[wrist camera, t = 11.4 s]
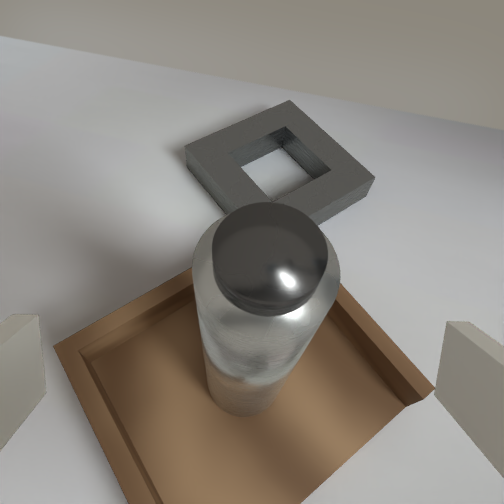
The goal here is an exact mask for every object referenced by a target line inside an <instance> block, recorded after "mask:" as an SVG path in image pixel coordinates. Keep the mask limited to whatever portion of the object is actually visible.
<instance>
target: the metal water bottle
mask: <svg viewBox="0 0 504 504" xmlns="http://www.w3.org/2000/svg"><path fill="white" fill-rule="evenodd" d="M192 276H193V284H194V291H195V298H196V305H197V312H198V319H199V326H200V333H201V340H202V347H203V354H204V361H205V368H206V375H207V382H208V388H209V392H210V394H211V397H212V398H213V400H214V402H215V403H216V404H217V405H218V406H219V407H220V408H221V409H222V410H223V411H225V412H227V413H229V414H231V415H234V416H238V417H250V416H254V415H257V414H259V413H261V412H263V411H264V410H266V409H267V408H268V407H269V406H270V405H271V404H272V403H273V401H274V400H275V398H276V397H277V395H278V393H279V392H280V390H281V388H282V387H283V385H284V384H285V382H286V380H287V379H288V377H289V375H290V374H291V372H292V370H293V369H294V367H295V365H296V364H297V362H298V361H299V359H300V357H301V356H302V354H303V352H304V351H305V349H306V347H307V346H308V344H309V342H310V341H311V339H312V338H313V336H314V334H315V333H316V331H317V329H318V328H319V326H320V324H321V323H322V321H323V320H324V318H325V316H326V315H327V313H328V311H329V310H330V308H331V306H332V305H333V303H334V301H335V299H336V296H337V293H338V290H339V285H340V267H339V261H338V258H337V255H336V252H335V250H334V248H333V246H332V245H331V243H330V241H329V240H328V238H327V237H326V236H325V235H324V234H323V232H322V231H321V230H320V229H319V227H318V226H317V225H316V224H315V222H314V221H313V220H312V219H310V218H309V217H308V216H307V215H305V214H304V213H303V212H301V211H299V210H297V209H295V208H293V207H291V206H288V205H284V204H280V203H273V202H259V203H253V204H249V205H246V206H243V207H240V208H238V209H236V210H235V211H233V212H231V213H230V214H228V215H225V216H224V217H222V218H221V219H219V220H217V221H216V222H215V223H214V224H212V225H211V226H210V227H209V228H208V229H207V230H206V232H205V233H204V234H203V236H202V237H201V239H200V240H199V242H198V244H197V246H196V249H195V252H194V256H193V261H192Z"/></svg>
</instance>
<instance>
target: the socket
mask: <svg viewBox="0 0 504 504" xmlns="http://www.w3.org/2000/svg"><path fill="white" fill-rule="evenodd" d="M280 147H282V148H283V149H284V150H285V151H286V152H287V153H288V154H289V155H290V156H291V157H292V158H294V159H295V160H296V161H297V162H298V163H299V164H300V165H301V166H302V167H303V168H304V169H305V170H306V171H307V172H308V173H309V174H310V175H311V176H312V177H313V178H314V180H313V181H311V182H309V183H307V184H305V185H303V186H302V187H300V188H298V189H296V190H294V191H292V192H291V193H289V194H287V195H285V196H283V197H281V198H280V199H278V200H276V201H274V202H273V203H280V204H284V205H288V206H291V207H293V208H295V209H297V210H299V211H301V212H303V213H304V214H305V215H307V216H308V217H309V218H310V219H312V220H313V221H314V222H315V224H316V225H317V226H318V225H319V224H321V223H323V222H324V221H326V220H328V219H329V218H331V217H333V216H334V215H336V214H338V213H339V212H341V211H343V210H344V209H346V208H347V207H349V206H351V205H352V204H354V203H356V202H357V201H359V200H361V199H362V198H364V197H366V195H367V193H368V191H369V189H370V187H371V185H372V183H373V181H374V179H375V177H374V176H373V175H372V174H371V173H370V172H369V171H368V170H367V169H366V168H365V167H363V166H362V165H361V164H360V163H359V162H358V161H357V160H356V159H355V158H353V157H352V156H351V155H350V154H349V153H348V152H347V151H346V150H345V149H344V148H342V147H341V146H340V145H339V144H338V143H337V142H336V141H335V140H334V139H332V138H331V137H330V136H329V135H328V134H327V133H326V132H325V131H324V130H322V129H321V128H320V127H319V126H318V125H317V124H316V123H315V122H314V121H313V120H311V119H310V118H309V117H308V116H307V115H306V114H305V113H304V112H303V111H301V110H300V109H299V108H298V107H297V106H296V105H295V104H294V103H293V102H292V101H290V100H288V101H286V102H284V103H282V104H279V105H277V106H275V107H273V108H270V109H268V110H266V111H263V112H261V113H259V114H257V115H254V116H252V117H250V118H247V119H245V120H243V121H241V122H238V123H236V124H234V125H231V126H229V127H227V128H225V129H222V130H220V131H218V132H216V133H213V134H211V135H209V136H206V137H204V138H202V139H200V140H197V141H195V142H193V143H190V144H188V145H186V146H185V153H186V162H187V167H188V168H189V170H190V171H191V172H192V173H193V175H194V176H195V177H196V178H197V179H198V181H199V182H200V183H201V184H202V185H203V187H204V188H205V189H206V190H207V191H208V193H209V194H210V195H211V196H212V197H213V199H214V200H215V201H216V202H217V204H218V205H219V206H220V207H221V208H222V210H223V211H224V212H225V213H226V214H227V215H228V214H230V213H231V212H233V211H235V210H236V209H238V208H240V207H243V206H246V205H249V204H253V203H259V202H272V201H271V200H270V199H269V198H268V197H267V196H266V195H265V193H264V192H263V191H262V190H261V189H260V188H259V187H258V186H257V185H256V184H255V183H254V181H253V180H252V179H251V178H250V177H249V176H248V175H247V174H246V173H245V172H244V170H243V169H242V168H241V167H242V166H244V165H246V164H248V163H250V162H252V161H254V160H256V159H258V158H260V157H262V156H264V155H266V154H268V153H270V152H272V151H274V150H276V149H278V148H280Z"/></svg>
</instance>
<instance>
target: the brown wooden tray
mask: <svg viewBox="0 0 504 504" xmlns="http://www.w3.org/2000/svg"><path fill="white" fill-rule="evenodd" d="M53 347H54V349H55V351H56V353H57V355H58V357H59V360H60V362H61V364H62V366H63V368H64V370H65V372H66V374H67V376H68V378H69V380H70V382H71V384H72V387H73V389H74V391H75V393H76V395H77V397H78V399H79V401H80V403H81V405H82V407H83V409H84V412H85V414H86V416H87V418H88V420H89V422H90V424H91V426H92V428H93V430H94V432H95V434H96V437H97V439H98V441H99V443H100V445H101V447H102V449H103V451H104V453H105V455H106V457H107V459H108V462H109V464H110V466H111V468H112V470H113V472H114V474H115V476H116V478H117V480H118V482H119V484H120V487H121V489H122V491H123V493H124V495H125V497H126V499H127V501H128V503H129V504H300V503H301V502H302V501H304V500H305V499H306V498H307V497H308V496H309V495H310V494H311V493H312V492H313V491H314V490H316V489H317V488H318V487H319V486H320V485H321V484H322V483H323V482H324V481H325V480H326V479H328V478H329V477H330V476H331V475H332V474H333V473H334V472H335V471H336V470H337V469H338V468H340V467H341V466H342V465H343V464H344V463H345V462H346V461H347V460H348V459H349V458H350V457H352V456H353V455H354V454H355V453H356V452H357V451H358V450H359V449H360V448H361V447H362V446H364V445H365V444H366V443H367V442H368V441H369V440H370V439H371V438H372V437H373V436H374V435H376V434H377V433H378V432H379V431H380V430H381V429H382V428H383V427H384V426H385V425H387V424H388V423H389V422H390V421H391V420H392V419H393V418H394V417H395V416H396V415H397V414H399V413H400V412H401V411H402V410H403V409H404V408H405V407H407V406H409V405H411V404H414V403H416V402H418V401H421V400H423V399H424V398H425V397H427V396H428V395H429V394H430V393H431V392H432V391H433V390H434V389H435V387H434V386H433V385H432V384H431V383H430V382H429V381H428V380H427V378H426V377H425V376H424V375H423V374H422V373H421V372H420V371H419V370H418V368H417V367H416V366H415V365H414V364H413V363H412V362H411V361H410V360H409V359H408V357H407V356H406V355H405V354H404V353H403V352H402V351H401V350H400V349H399V347H398V346H397V345H396V344H395V343H394V342H393V341H392V340H391V339H390V338H389V336H388V335H387V334H386V333H385V332H384V331H383V330H382V329H381V328H380V326H379V325H378V324H377V323H376V322H375V321H374V320H373V319H372V318H371V316H370V315H369V314H368V313H367V312H366V311H365V310H364V309H363V308H362V307H361V305H360V304H359V303H358V302H357V301H356V300H355V299H354V298H353V297H352V295H351V294H350V293H349V292H348V291H347V290H346V289H345V288H344V287H343V285H342V284H341V283H340V285H339V290H338V293H337V296H336V299H335V301H334V303H333V305H332V306H331V308H330V310H329V311H328V313H327V315H326V316H325V318H324V320H323V321H322V323H321V324H320V326H319V328H318V329H317V331H316V333H315V334H314V336H313V338H312V339H311V341H310V342H309V344H308V346H307V347H306V349H305V351H304V352H303V354H302V356H301V357H300V359H299V361H298V362H297V364H296V365H295V367H294V369H293V370H292V372H291V374H290V375H289V377H288V379H287V380H286V382H285V384H284V385H283V387H282V388H281V390H280V392H279V393H278V395H277V397H276V398H275V400H274V401H273V403H272V404H271V405H270V406H269V407H268V408H267V409H266V410H264V411H263V412H261V413H259V414H257V415H254V416H250V417H238V416H234V415H231V414H229V413H227V412H225V411H223V410H222V409H221V408H220V407H219V406H218V405H217V404H216V403H215V402H214V400H213V398H212V397H211V394H210V392H209V388H208V382H207V375H206V368H205V361H204V354H203V347H202V340H201V333H200V326H199V319H198V312H197V305H196V298H195V291H194V284H193V276H192V267H191V268H190V269H188V270H186V271H184V272H183V273H181V274H179V275H177V276H176V277H174V278H172V279H170V280H169V281H167V282H165V283H163V284H162V285H160V286H158V287H156V288H154V289H153V290H151V291H149V292H147V293H146V294H144V295H142V296H140V297H139V298H137V299H135V300H133V301H132V302H130V303H128V304H126V305H125V306H123V307H121V308H119V309H117V310H116V311H114V312H112V313H110V314H109V315H107V316H105V317H103V318H102V319H100V320H98V321H96V322H95V323H93V324H91V325H89V326H88V327H86V328H84V329H82V330H80V331H79V332H77V333H75V334H73V335H72V336H70V337H68V338H66V339H65V340H63V341H61V342H59V343H58V344H56V345H54V346H53Z"/></svg>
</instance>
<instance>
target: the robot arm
mask: <svg viewBox="0 0 504 504" xmlns="http://www.w3.org/2000/svg"><path fill="white" fill-rule="evenodd" d="M45 394H46V383H45V374H44V364H43V354H42V344H41V335H40V325H39V315H26V314H13V315H12V316H10V317H9V318H7V319H6V320H5V321H3V322H2V323H0V451H1V450H2V448H3V447H4V446H5V445H6V443H7V442H8V441H9V439H10V438H11V437H12V436H13V434H14V433H15V432H16V431H17V429H18V428H19V427H20V426H21V424H22V423H23V422H24V420H25V419H26V418H27V417H28V415H29V414H30V413H31V412H32V410H33V409H34V408H35V406H36V405H37V404H38V403H39V401H40V400H41V399H42V398H43V396H44V395H45ZM434 395H435V397H436V398H437V399H438V400H439V401H440V402H441V404H442V405H443V406H444V407H445V408H446V410H447V411H448V412H449V413H450V414H451V416H452V417H453V418H454V419H455V420H456V422H457V423H458V424H459V425H460V426H461V428H462V429H463V430H464V431H465V432H466V434H467V435H468V436H469V437H470V438H471V440H472V441H473V442H474V443H475V444H476V446H477V447H478V448H479V449H480V450H481V452H482V453H483V454H484V455H485V456H486V458H487V459H488V460H489V461H490V462H491V464H492V465H493V466H494V467H495V468H496V470H497V471H498V472H499V473H500V474H501V475H502V477H503V478H504V346H503V345H501V344H500V343H499V342H497V341H496V340H494V339H493V338H491V337H490V336H489V335H487V334H486V333H484V332H483V331H482V330H480V329H479V328H477V327H476V326H474V325H473V324H472V323H470V322H455V321H447V323H446V329H445V334H444V340H443V346H442V352H441V358H440V364H439V369H438V375H437V381H436V387H435V393H434Z"/></svg>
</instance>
